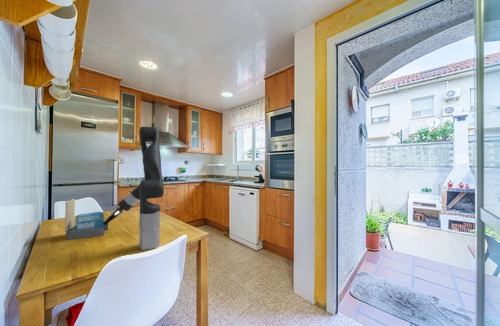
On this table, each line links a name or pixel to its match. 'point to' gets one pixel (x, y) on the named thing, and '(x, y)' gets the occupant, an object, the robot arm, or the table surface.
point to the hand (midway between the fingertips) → (104, 223)
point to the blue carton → (89, 220)
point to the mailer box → (71, 229)
